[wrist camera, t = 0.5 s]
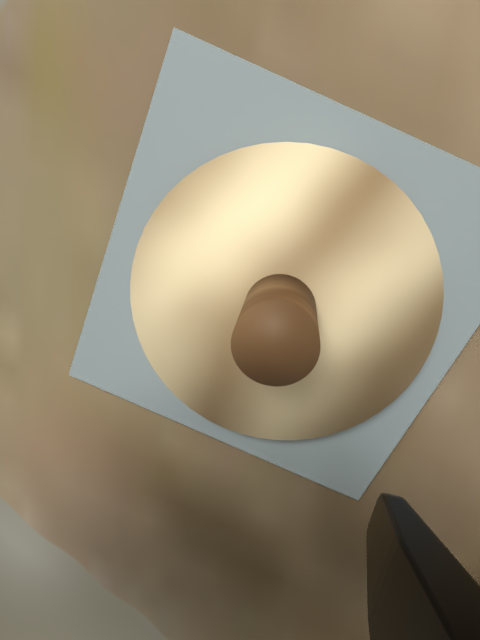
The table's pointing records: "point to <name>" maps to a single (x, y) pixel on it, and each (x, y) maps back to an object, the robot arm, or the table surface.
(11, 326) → the table surface
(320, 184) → the lid
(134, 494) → the table surface
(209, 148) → the mat
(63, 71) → the table surface
